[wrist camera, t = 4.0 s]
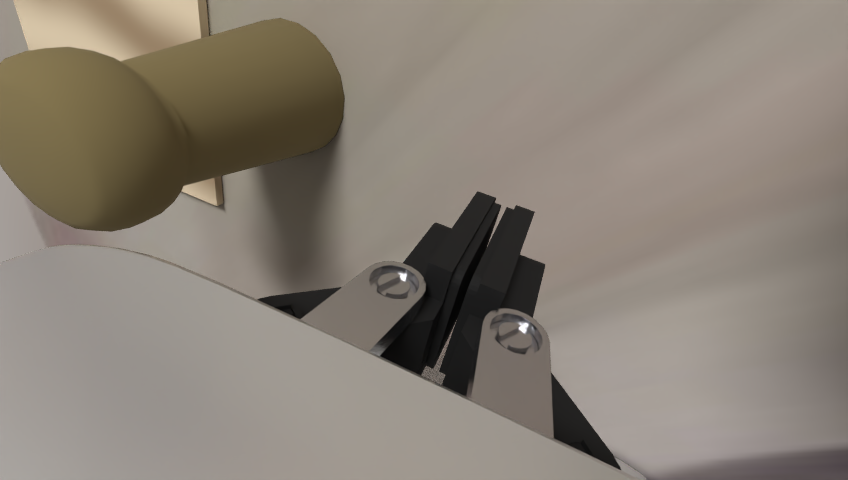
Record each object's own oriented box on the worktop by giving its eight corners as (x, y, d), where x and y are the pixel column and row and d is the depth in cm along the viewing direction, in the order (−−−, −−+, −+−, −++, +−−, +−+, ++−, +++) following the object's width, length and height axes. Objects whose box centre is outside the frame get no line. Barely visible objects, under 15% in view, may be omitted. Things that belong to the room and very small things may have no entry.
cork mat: (223, 203, 25) (217, 206, 25) (64, 136, 28) (56, 138, 27) (187, -224, 15) (175, -230, 15) (-56, -264, 18) (-71, -270, 17)
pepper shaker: (309, 176, 22) (100, 297, 13) (221, 94, 21) (-58, 161, 12) (367, 85, 18) (133, 164, 9) (262, -15, 18) (-87, -32, 9)
